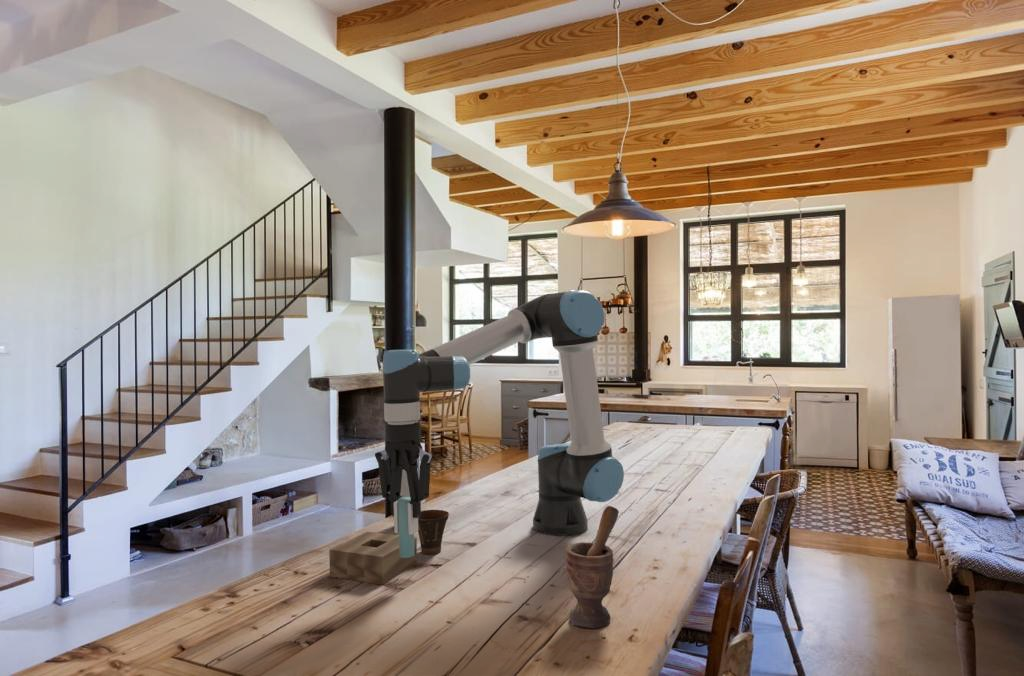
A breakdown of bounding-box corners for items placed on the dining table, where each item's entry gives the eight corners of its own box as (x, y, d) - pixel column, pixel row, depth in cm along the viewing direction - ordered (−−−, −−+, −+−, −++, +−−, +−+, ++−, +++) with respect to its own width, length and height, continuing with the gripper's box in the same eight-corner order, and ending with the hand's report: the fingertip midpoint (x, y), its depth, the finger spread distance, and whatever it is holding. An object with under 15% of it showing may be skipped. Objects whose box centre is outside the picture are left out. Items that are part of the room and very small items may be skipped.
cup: (458, 543, 159) (454, 505, 158) (443, 559, 150) (438, 520, 149) (427, 541, 162) (422, 504, 161) (410, 557, 153) (406, 518, 152)
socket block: (416, 563, 147) (416, 537, 147) (382, 584, 134) (382, 556, 134) (367, 556, 152) (366, 531, 152) (329, 576, 139) (329, 549, 139)
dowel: (417, 553, 134) (416, 497, 134) (409, 558, 131) (408, 501, 131) (404, 552, 135) (403, 496, 135) (396, 556, 132) (395, 500, 133)
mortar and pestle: (584, 601, 124) (582, 500, 124) (626, 609, 120) (624, 505, 120) (559, 624, 114) (557, 514, 114) (604, 634, 110) (602, 520, 110)
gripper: (443, 420, 134) (447, 529, 134) (381, 418, 140) (385, 523, 140) (426, 425, 127) (430, 540, 127) (361, 423, 133) (365, 533, 133)
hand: (406, 531), depth 133 cm, fingers closed on dowel, 3 cm apart
